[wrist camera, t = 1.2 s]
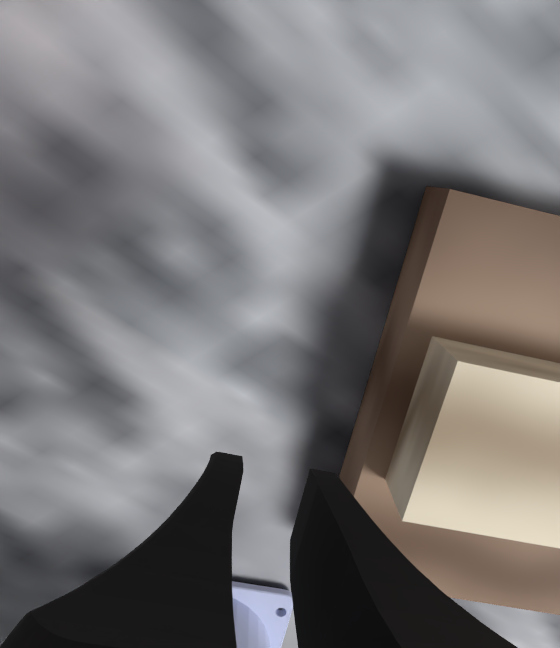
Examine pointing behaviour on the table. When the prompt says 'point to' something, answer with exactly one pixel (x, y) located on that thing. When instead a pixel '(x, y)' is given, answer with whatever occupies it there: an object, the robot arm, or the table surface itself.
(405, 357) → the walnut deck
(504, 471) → the birch tile
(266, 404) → the table surface
